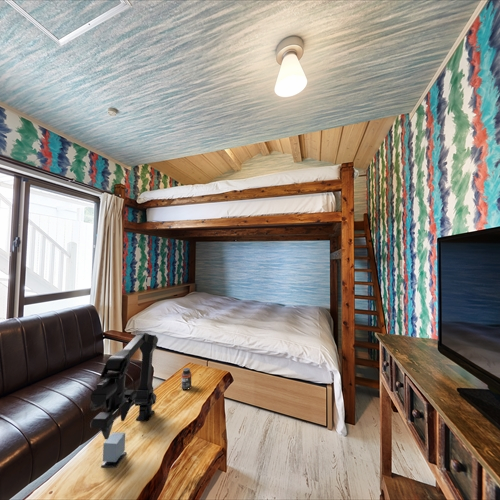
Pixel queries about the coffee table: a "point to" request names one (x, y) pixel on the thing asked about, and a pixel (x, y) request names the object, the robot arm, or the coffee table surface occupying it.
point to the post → (113, 464)
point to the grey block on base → (113, 447)
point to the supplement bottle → (186, 378)
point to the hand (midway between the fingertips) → (115, 429)
